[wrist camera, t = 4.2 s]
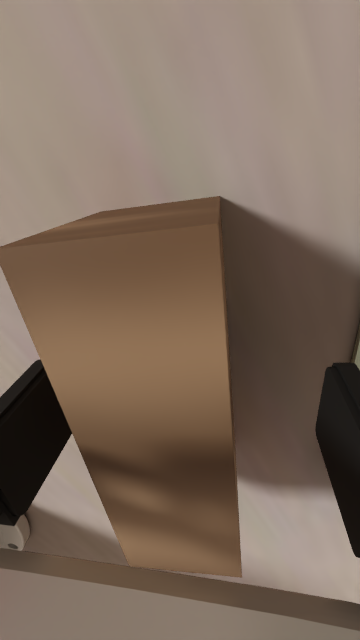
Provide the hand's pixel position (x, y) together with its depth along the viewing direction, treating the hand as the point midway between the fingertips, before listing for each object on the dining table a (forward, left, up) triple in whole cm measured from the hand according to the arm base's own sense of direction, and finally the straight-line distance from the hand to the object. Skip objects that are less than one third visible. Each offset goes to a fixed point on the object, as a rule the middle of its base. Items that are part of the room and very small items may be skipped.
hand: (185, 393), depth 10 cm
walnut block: (0, +1, -4) cm, 4 cm away
